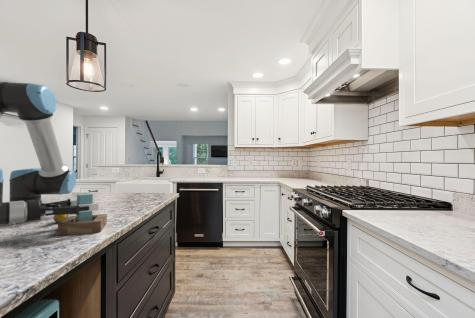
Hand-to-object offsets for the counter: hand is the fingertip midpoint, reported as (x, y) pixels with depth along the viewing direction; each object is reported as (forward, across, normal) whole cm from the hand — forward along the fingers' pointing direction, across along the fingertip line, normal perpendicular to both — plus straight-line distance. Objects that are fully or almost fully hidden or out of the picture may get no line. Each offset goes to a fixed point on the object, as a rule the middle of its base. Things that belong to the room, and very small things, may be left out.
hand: (93, 204), depth 102 cm
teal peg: (-3, 0, -10) cm, 10 cm away
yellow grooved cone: (-8, -18, -10) cm, 22 cm away
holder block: (-3, 0, -10) cm, 10 cm away
